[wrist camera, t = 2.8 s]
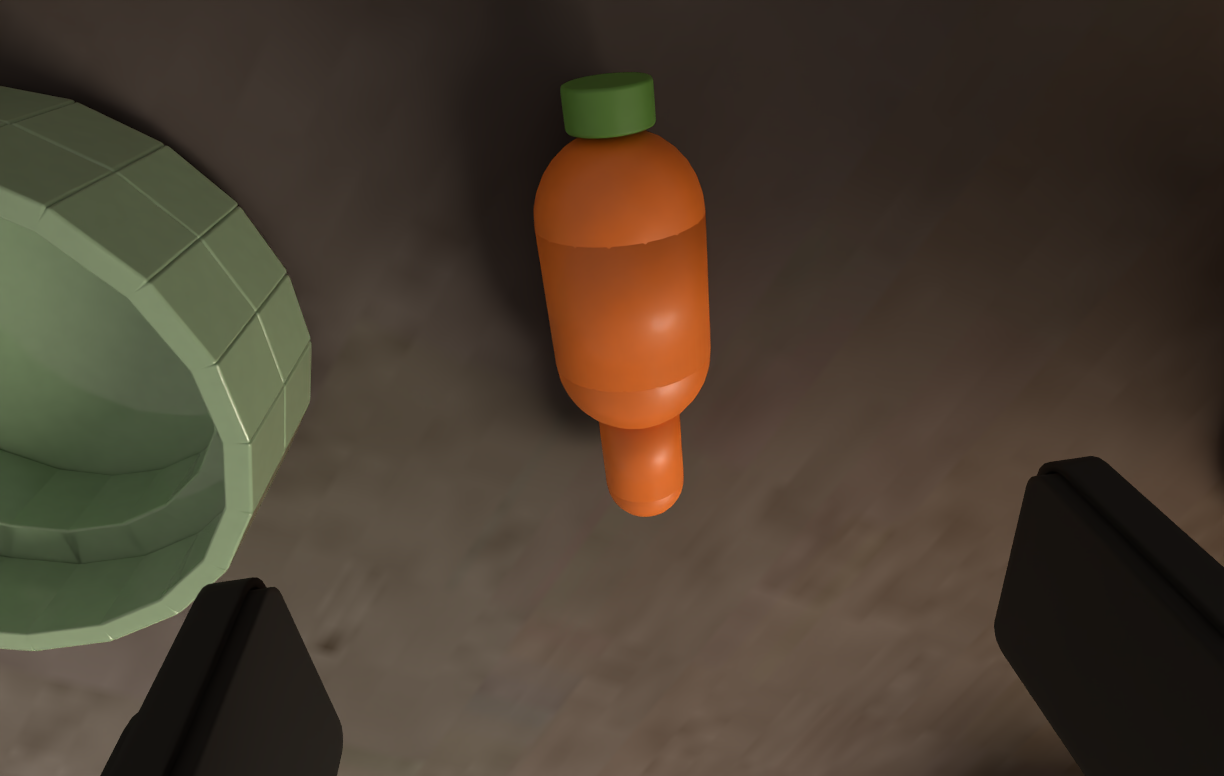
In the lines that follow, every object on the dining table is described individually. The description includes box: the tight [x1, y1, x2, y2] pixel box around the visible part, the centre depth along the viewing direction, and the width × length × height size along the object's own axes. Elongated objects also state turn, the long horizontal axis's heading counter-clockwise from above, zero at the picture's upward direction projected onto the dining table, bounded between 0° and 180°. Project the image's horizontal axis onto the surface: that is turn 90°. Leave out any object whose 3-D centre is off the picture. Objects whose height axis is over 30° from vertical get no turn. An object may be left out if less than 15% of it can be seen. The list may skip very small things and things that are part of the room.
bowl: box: [0, 86, 311, 651], centre depth 18 cm, size 12×12×6 cm
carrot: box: [533, 72, 711, 517], centre depth 19 cm, size 12×4×4 cm, turn 6°
